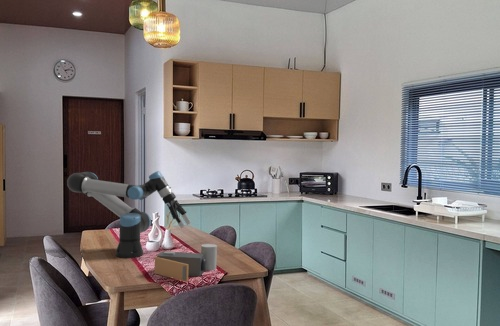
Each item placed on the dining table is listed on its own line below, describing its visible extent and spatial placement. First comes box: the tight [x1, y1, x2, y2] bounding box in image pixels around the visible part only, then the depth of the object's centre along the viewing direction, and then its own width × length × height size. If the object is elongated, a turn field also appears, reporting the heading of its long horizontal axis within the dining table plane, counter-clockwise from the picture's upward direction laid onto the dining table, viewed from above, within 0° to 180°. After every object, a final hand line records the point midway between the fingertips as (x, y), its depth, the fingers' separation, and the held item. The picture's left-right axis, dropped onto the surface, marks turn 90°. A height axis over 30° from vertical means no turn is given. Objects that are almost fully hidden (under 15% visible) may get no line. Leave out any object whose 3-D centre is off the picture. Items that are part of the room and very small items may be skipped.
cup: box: [200, 243, 218, 271], centre depth 245 cm, size 8×8×12 cm
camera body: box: [156, 250, 207, 277], centre depth 235 cm, size 24×10×10 cm, turn 84°
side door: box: [154, 256, 189, 283], centre depth 224 cm, size 22×2×8 cm, turn 54°
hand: (186, 225), depth 278 cm, fingers open, 13 cm apart
